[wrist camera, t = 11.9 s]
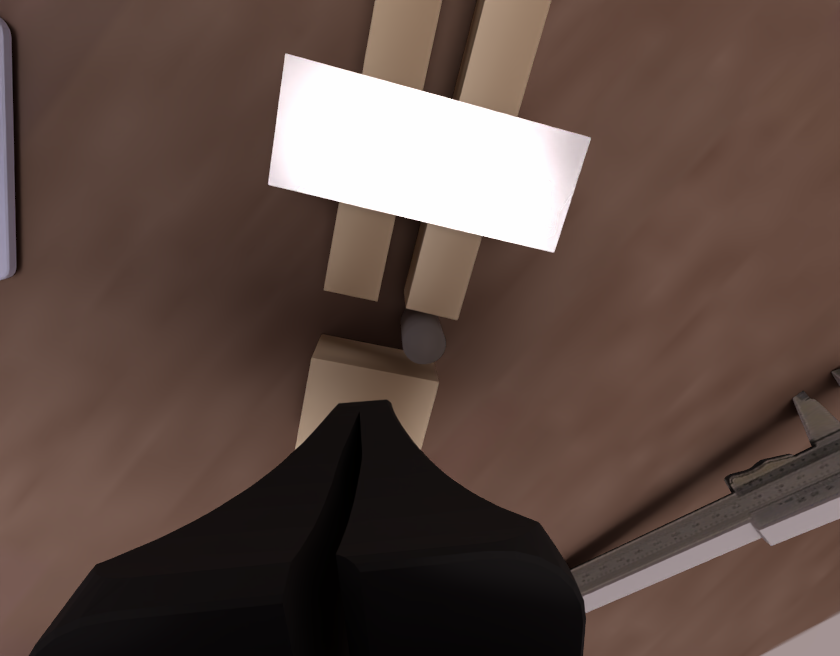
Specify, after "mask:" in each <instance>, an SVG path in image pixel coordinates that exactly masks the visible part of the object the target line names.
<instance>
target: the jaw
mask: <svg viewBox="0 0 840 656" xmlns="http://www.w3.org/2000/svg"><path fill="white" fill-rule="evenodd" d="M550 3H551V0H477V2H476V6H475V10H474V14H473V18H472V22H471V26H470V30H469V34H468V38H467V42H466V46H465V50H464V54H463V58H462V62H461V66H460V70H459V74H458V77H457V81H456V85H455V89H454V93H453V97H452V99H453V100H456V101H460V102H464V103H467V104H471V105H474V106H478V107H482V108H485V109H489V110H493V111H496V112H500V113H503V114H507V115H511V116H514V117H517V116H518V112H519V109H520V106H521V102H522V99H523V95H524V92H525V88H526V85H527V82H528V78H529V75H530V71H531V68H532V65H533V61H534V58H535V54H536V51H537V47H538V44H539V41H540V37H541V34H542V30H543V27H544V24H545V20H546V17H547V13H548V10H549V7H550ZM481 239H482V235H478V234H473V233H469V232H465V231H461V230H457V229H452V228H448V227H444V226H440V225H436V224H431V223H427V222H423V221H421V224H420V228H419V232H418V236H417V240H416V244H415V248H414V252H413V256H412V260H411V264H410V268H409V272H408V276H407V280H406V284H405V288H404V297H405V304H406V309H405V311H404V312H403V314H402V316H401V332H402V345H403V350H404V353H405V355H406V356H407V357H408V358H409V359H410V360H411V361H413V362H415V363H417V364H430V363H433V362H435V361H436V360H438V359H439V358H440V357H441V356H442V355H443V353H444V351H445V347H446V340H445V336H444V333H443V330H442V328H441V325H440V322H439V319H438V316H441V317H446V318H450V319H454V320H458V317H459V314H460V310H461V307H462V303H463V300H464V297H465V293H466V290H467V286H468V283H469V280H470V276H471V273H472V269H473V266H474V263H475V259H476V256H477V252H478V249H479V245H480V242H481Z"/></svg>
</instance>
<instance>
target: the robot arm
mask: <svg viewBox="0 0 840 656" xmlns="http://www.w3.org/2000/svg"><path fill="white" fill-rule="evenodd" d="M15 272H16V222H15V177H14V131H13V85H12V39H11V33H10V29H9V27H8V25H7V24H6V22H5V21H4V20H3V19H2V18H0V280H3V279H7V278H9V277H12V276H13V275H14V273H15ZM585 624H586V615H585V604H584V599H583V597H582V595H581V593H580V590H579V587H578V585H577V583H576V580H575V578H574V576H573V574H572V572H571V571H570V569H569V567H568V565H567V563H566V562H565V560H564V559H563V557H562V555H561V554H560V552H559V551H558V549H557V548H556V546H555V545H554V543H553V542H552V540H551V539H550V537H549V536H548V534H547V533H546V531H545V530H544V529H543V527H542V526H541V524H540V523H539V522H537V521H534V520H532V519H529V518H526V517H524V516H521V515H519V514H516V513H514V512H511V511H509V510H506V509H504V508H501V507H499V506H497V505H495V504H493V503H491V502H489V501H487V500H485V499H483V498H481V497H479V496H478V495H476V494H474V493H472V492H471V491H469V490H467V489H466V488H464V487H463V486H461V485H460V484H458V483H457V482H456V481H454V480H453V479H451V478H450V477H449V476H447V475H446V474H445V473H444V472H442V471H441V470H440V469H439V468H438V467H437V466H436V465H435V464H434V463H433V462H432V461H431V460H430V459H429V458H428V457H427V456H426V455H425V454H424V453H423V452H422V451H421V450H420V449H419V447H418V446H417V445H416V444H415V443H414V441H413V440H412V439H411V438H410V436H409V435H408V433H407V432H406V431H405V429H404V428H403V426H402V425H401V423H400V421H399V420H398V418H397V416H396V414H395V412H394V410H393V407H392V403H391V402H390V401H388V400H387V399H385V400H373V401H360V402H348V403H338V404H337V405H336V407H335V408H334V409H333V410H332V411H331V412H330V413H329V414H328V415H327V417H326V418H325V419H324V420H323V421H322V422H321V423H320V425H319V426H318V427H317V428H316V429H315V430H314V431H313V432H312V433H311V434H310V436H309V437H308V438H307V439H306V440H305V441H304V442H303V443H302V444H301V445H300V446H299V447H298V448H297V449H296V450H295V451H293V452H292V453H291V454H290V455H289V456H288V457H287V458H286V459H285V460H284V461H283V462H282V463H281V464H279V465H278V466H277V467H276V468H275V469H273V470H272V471H271V472H270V473H268V474H267V475H266V476H264V477H263V478H262V479H260V480H259V481H258V482H256V483H255V484H254V485H252V486H251V487H249V488H248V489H247V490H245V491H243V492H242V493H240V494H239V495H237V496H235V497H234V498H232V499H231V500H229V501H228V502H226V503H224V504H223V505H221V506H220V507H218V508H217V509H215V510H213V511H211V512H210V513H208V514H206V515H204V516H202V517H201V518H199V519H197V520H195V521H193V522H191V523H189V524H187V525H185V526H183V527H181V528H179V529H177V530H175V531H173V532H171V533H170V534H167V535H165V536H163V537H161V538H159V539H157V540H155V541H152V542H150V543H147V544H145V545H143V546H140V547H138V548H136V549H133V550H131V551H128V552H126V553H124V554H121V555H119V556H117V557H114V558H112V559H109V560H107V561H104V562H102V563H99V564H96V565H95V567H94V568H93V569H92V570H91V571H90V573H89V574H88V575H87V577H86V578H85V579H84V581H83V582H82V583H81V585H80V586H79V587H78V588H77V590H76V591H75V592H74V594H73V595H72V596H71V598H70V599H69V600H68V602H67V603H66V605H65V606H64V607H63V609H62V610H61V611H60V613H59V614H58V615H57V617H56V618H55V619H54V621H53V622H52V623H51V625H50V626H49V627H48V629H47V630H46V631H45V633H44V634H43V635H42V637H41V638H40V639H39V641H38V642H37V643H36V645H35V646H34V648H33V650H32V651H31V653H30V655H29V656H583V648H584V636H585Z"/></svg>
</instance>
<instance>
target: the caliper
mask: <svg viewBox="0 0 840 656" xmlns="http://www.w3.org/2000/svg"><path fill="white" fill-rule="evenodd" d="M831 373H832V374H833V376H834V378H835V379H836V381H837V383H838V384H839V386H840V369H837V370H834V371H832V372H831ZM793 401H794V404H795V406H796V409H797V411H798V414H799V416H800V419H801V421H802V423H803V426H804V428H805V431H806V433H807V436H808V438H809V441H810V443H811V446H812V447H810V448H808V449H806V450H804V451H802V452H800V453H798V454H796V455H791V454H786V455H781V456H776V457H772V458H767V459H763V460H760V461H759V462H757V463H756V464H755V465H753V466H752V467H751V468H750V469H747V470H745V471H741V472H737V473H733V474H730V475H728V476H726V477H725V480H724V481H725V482H726V484H727V486H728V487H729V489H730V491H731V494H729V495H727V496H725V497H722V498H720V499H718V500H716V501H714V502H712V503H710V504H708V505H705V506H703V507H701V508H699V509H697V510H695V511H693V512H691V513H689V514H686V515H684V516H682V517H680V518H678V519H676V520H674V521H672V522H669V523H667V524H665V525H663V526H661V527H659V528H657V529H655V530H653V531H650V532H648V533H646V534H644V535H642V536H640V537H638V538H636V539H634V540H631V541H629V542H627V543H625V544H623V545H621V546H619V547H617V548H614V549H612V550H610V551H608V552H606V553H604V554H602V555H599V556H597V557H595V558H593V559H591V560H589V561H586V562H584V563H582V564H580V565H578V566H576V567H573V568H571V569H570V571H571V572H572V574H573V576H574V578H575V580H576V583H577V585H578V587H579V590H580V593H581V595H582V597H583V599H584V604H585V613H587V612H589V611H592V610H594V609H596V608H599V607H601V606H603V605H606V604H608V603H610V602H613V601H615V600H617V599H620V598H622V597H624V596H627V595H629V594H631V593H634V592H636V591H638V590H641V589H643V588H645V587H648V586H650V585H652V584H655V583H657V582H659V581H662V580H664V579H666V578H669V577H671V576H673V575H676V574H678V573H680V572H683V571H685V570H687V569H690V568H692V567H694V566H697V565H699V564H701V563H704V562H706V561H708V560H711V559H713V558H715V557H718V556H720V555H722V554H725V553H727V552H729V551H732V550H734V549H736V548H739V547H741V546H743V545H746V544H748V543H750V542H753V541H755V540H757V539H760V538H763V539H764V540H765V541H766V542H767V543H768V544H770V545H771V546H772V545H775V544H777V543H780V542H782V541H785V540H787V539H790V538H792V537H795V536H797V535H800V534H802V533H805V532H807V531H810V530H812V529H815V528H817V527H820V526H822V525H825V524H827V523H830V522H832V521H835V520H837V519H840V422H839V421H838V420H837V419H836V418H835V417H834V416H832V415H831V414H830V413H829V412H828V411H827V410H826V409H825V408H824V407H823V406H822V405H821V404H820V403H819V402H817V401H816V400H815V399H811V398H810V397H809V396H808V395H807V394H806V393H805V392H804V391H802V392H801V393H799V394H798V395H796V396H795V397H793Z"/></svg>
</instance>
